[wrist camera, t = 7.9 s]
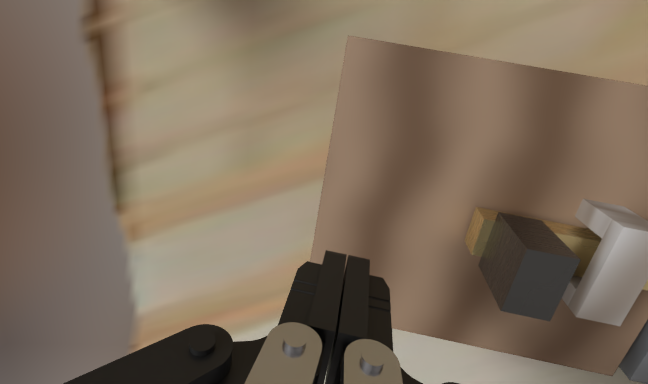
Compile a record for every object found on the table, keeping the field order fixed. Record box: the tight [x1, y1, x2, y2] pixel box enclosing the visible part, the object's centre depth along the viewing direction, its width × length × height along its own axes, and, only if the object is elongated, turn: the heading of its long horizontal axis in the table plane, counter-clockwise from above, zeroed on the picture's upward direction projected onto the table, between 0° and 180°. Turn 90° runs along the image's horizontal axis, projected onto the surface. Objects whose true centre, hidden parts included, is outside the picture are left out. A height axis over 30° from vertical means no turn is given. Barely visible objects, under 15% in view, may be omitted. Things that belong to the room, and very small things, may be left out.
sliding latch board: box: [310, 36, 648, 384], centre depth 18 cm, size 26×16×5 cm, turn 81°
